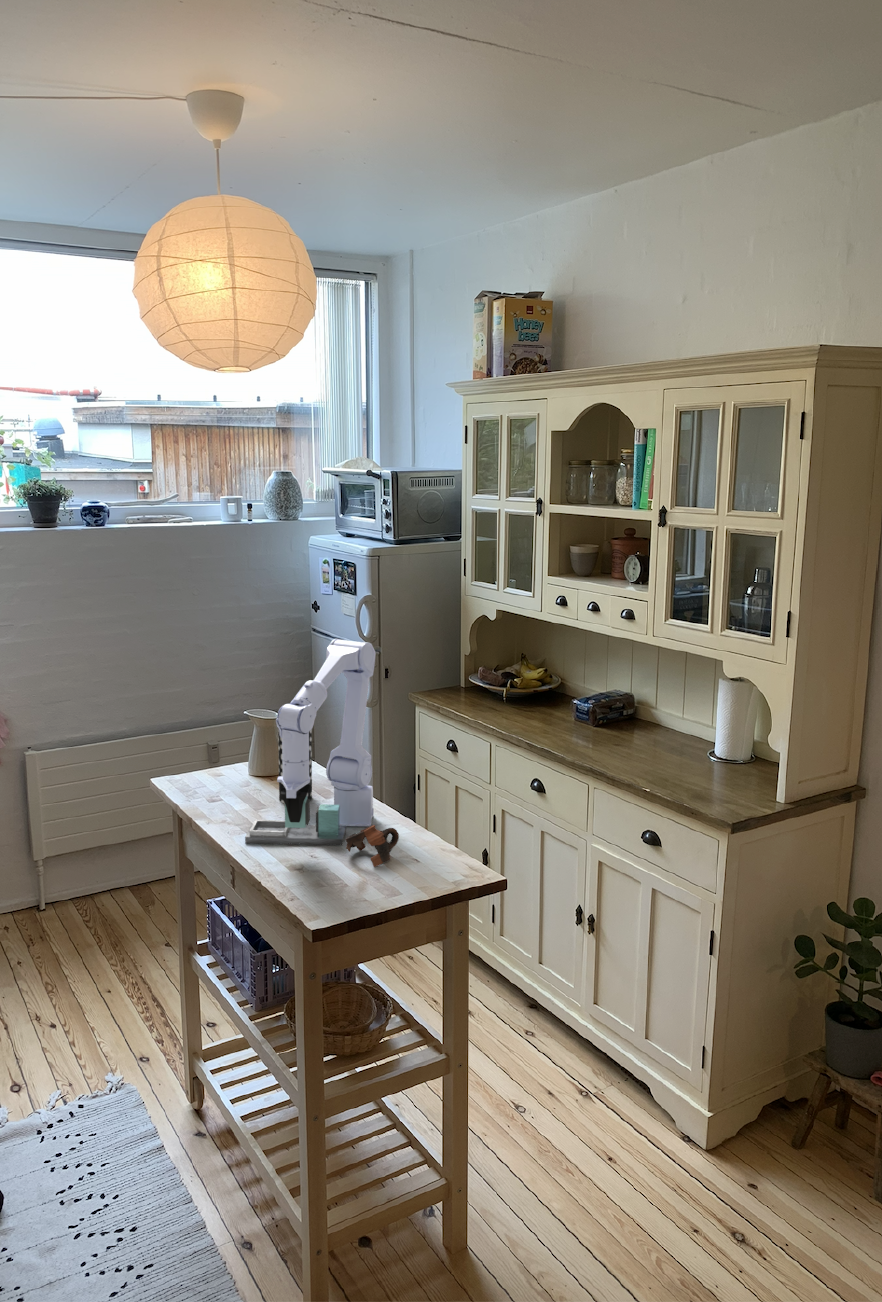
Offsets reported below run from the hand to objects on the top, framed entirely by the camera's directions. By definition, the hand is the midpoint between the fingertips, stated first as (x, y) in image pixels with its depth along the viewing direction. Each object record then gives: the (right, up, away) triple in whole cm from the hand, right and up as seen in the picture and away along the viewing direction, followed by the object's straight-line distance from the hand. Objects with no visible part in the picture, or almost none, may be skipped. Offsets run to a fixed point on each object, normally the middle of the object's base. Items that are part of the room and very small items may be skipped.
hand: (296, 818), depth 213 cm
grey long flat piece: (-2, -6, +11) cm, 13 cm away
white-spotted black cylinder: (-5, -1, +35) cm, 36 cm away
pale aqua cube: (0, -1, 0) cm, 2 cm away
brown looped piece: (+17, -9, +1) cm, 19 cm away
